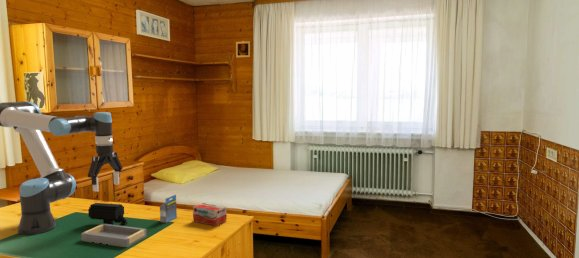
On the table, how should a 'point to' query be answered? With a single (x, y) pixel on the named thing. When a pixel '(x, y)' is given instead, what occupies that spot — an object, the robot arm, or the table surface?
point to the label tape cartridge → (168, 210)
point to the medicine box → (209, 214)
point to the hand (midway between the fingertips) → (106, 187)
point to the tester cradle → (114, 235)
